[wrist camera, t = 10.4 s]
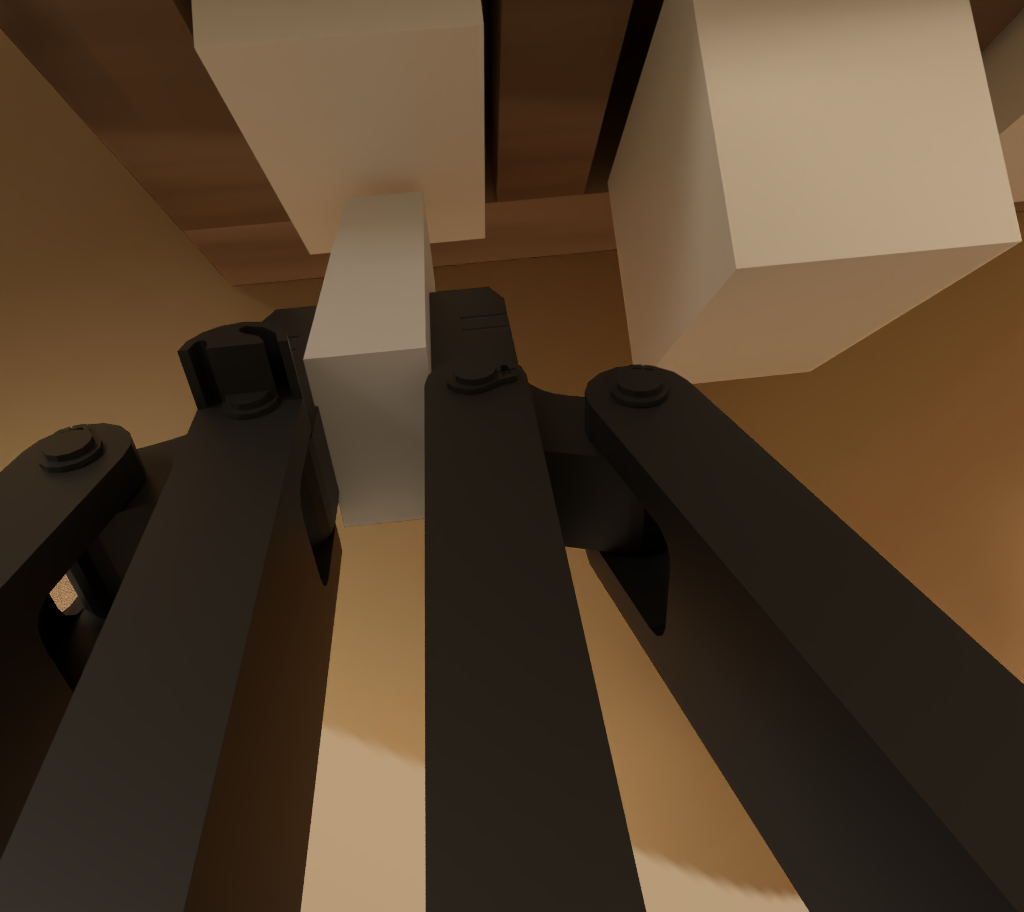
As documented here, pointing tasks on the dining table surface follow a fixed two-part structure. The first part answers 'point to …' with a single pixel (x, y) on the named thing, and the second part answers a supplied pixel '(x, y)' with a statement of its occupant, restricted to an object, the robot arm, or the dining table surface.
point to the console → (247, 191)
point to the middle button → (801, 179)
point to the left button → (356, 103)
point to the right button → (1009, 97)
